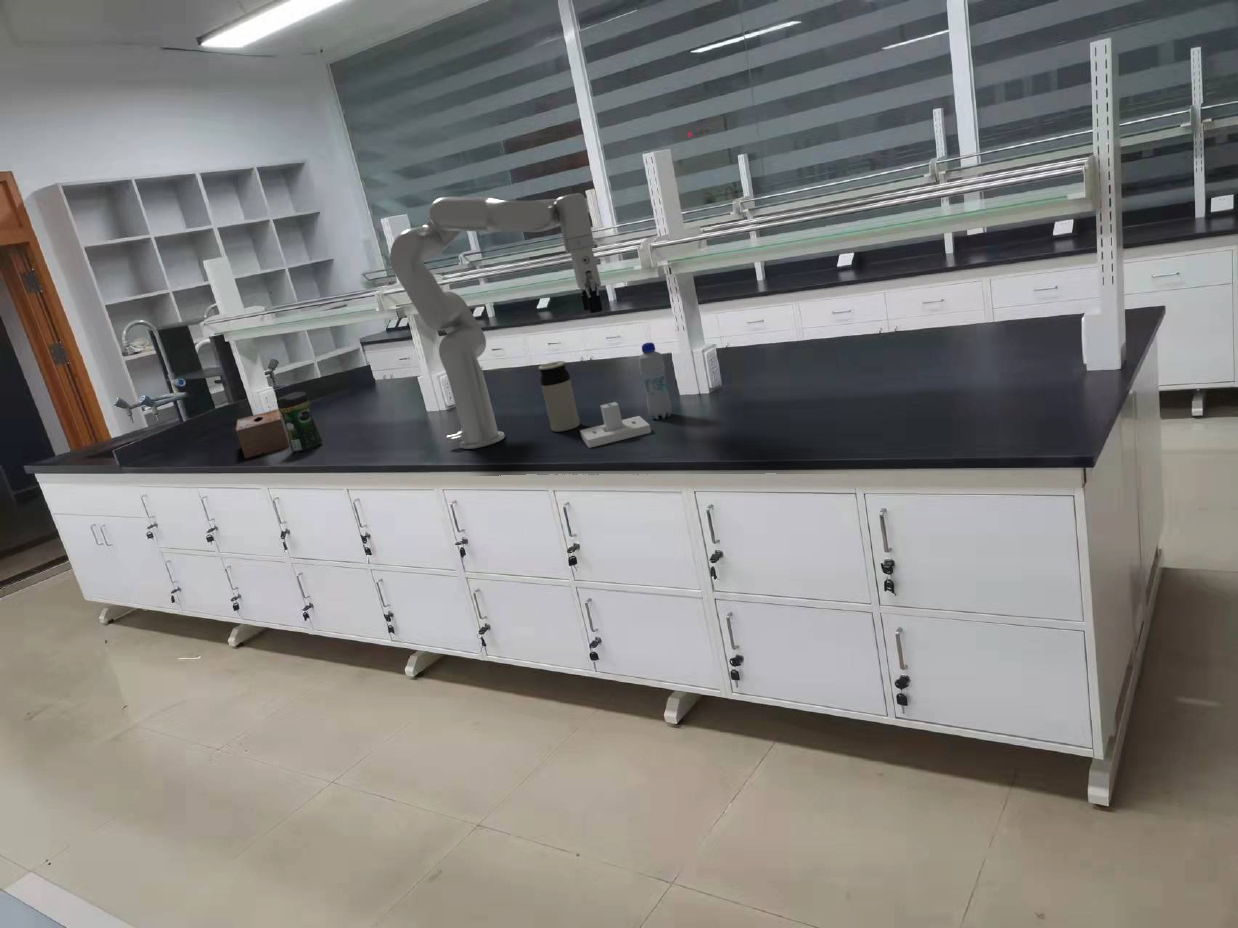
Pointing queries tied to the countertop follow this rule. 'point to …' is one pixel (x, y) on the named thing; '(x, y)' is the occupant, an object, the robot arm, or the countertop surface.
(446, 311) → the robot arm
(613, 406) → the charger
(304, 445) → the coffee jar
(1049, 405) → the countertop surface
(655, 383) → the bottle
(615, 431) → the outlet plate
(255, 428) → the tissue box cover
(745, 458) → the countertop surface
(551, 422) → the travel mug
